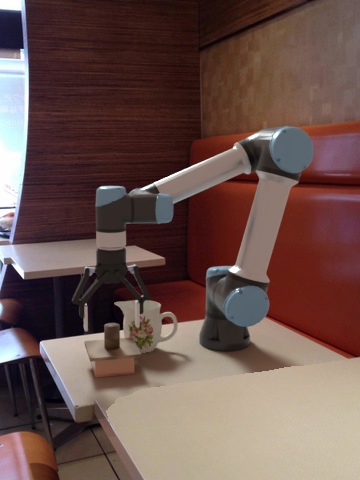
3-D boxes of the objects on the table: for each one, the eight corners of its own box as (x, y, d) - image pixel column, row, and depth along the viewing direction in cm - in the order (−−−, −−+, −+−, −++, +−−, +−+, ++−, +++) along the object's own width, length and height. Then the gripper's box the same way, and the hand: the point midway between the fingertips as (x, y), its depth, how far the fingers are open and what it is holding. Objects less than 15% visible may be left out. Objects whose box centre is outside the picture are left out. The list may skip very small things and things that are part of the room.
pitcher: (177, 356, 165) (178, 308, 162) (113, 356, 164) (112, 308, 162) (176, 342, 176) (177, 298, 173) (116, 342, 175) (115, 297, 173)
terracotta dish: (127, 359, 162) (127, 342, 161) (134, 374, 152) (134, 355, 151) (91, 362, 159) (90, 345, 158) (95, 377, 150) (95, 358, 149)
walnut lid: (131, 340, 163) (131, 316, 161) (141, 357, 150) (141, 331, 149) (84, 343, 159) (84, 319, 158) (90, 361, 147) (89, 335, 146)
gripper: (155, 243, 157) (155, 320, 160) (60, 246, 150) (62, 326, 154) (162, 248, 149) (161, 328, 153) (62, 251, 143) (64, 335, 147)
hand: (111, 327), depth 154 cm, fingers open, 13 cm apart
